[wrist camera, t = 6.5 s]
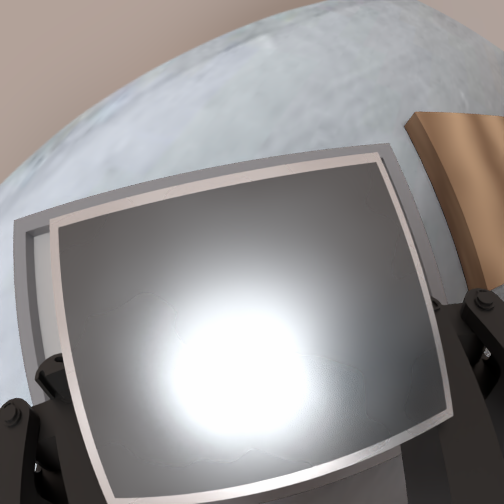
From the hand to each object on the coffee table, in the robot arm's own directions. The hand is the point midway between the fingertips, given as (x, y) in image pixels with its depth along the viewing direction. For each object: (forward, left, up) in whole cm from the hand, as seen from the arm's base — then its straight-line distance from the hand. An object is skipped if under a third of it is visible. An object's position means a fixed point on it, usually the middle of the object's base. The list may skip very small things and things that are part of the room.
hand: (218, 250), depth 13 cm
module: (-3, +2, -4) cm, 6 cm away
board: (-16, -17, -5) cm, 24 cm away
